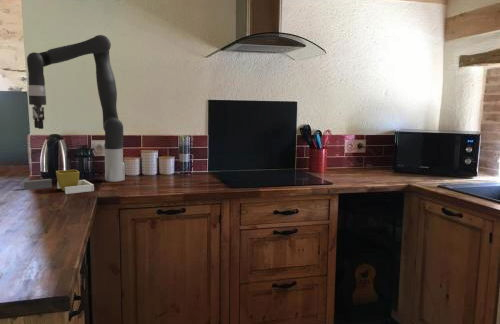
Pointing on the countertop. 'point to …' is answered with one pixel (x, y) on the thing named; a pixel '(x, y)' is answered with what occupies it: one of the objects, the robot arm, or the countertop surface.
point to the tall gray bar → (37, 184)
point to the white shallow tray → (79, 187)
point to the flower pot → (67, 178)
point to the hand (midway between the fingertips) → (38, 128)
